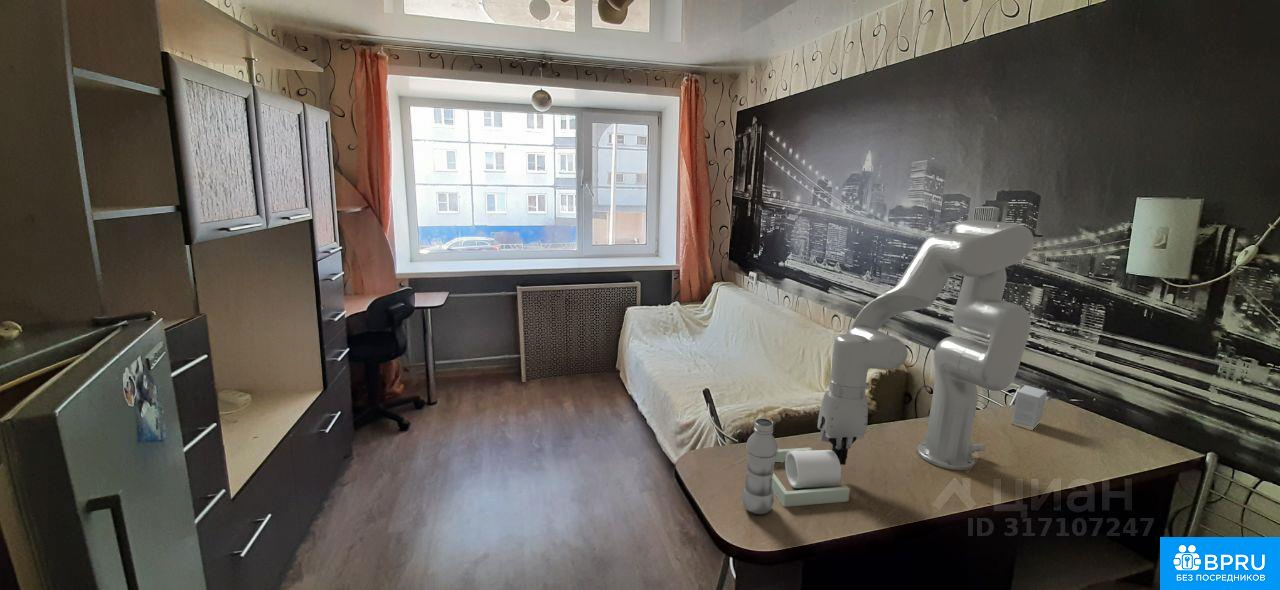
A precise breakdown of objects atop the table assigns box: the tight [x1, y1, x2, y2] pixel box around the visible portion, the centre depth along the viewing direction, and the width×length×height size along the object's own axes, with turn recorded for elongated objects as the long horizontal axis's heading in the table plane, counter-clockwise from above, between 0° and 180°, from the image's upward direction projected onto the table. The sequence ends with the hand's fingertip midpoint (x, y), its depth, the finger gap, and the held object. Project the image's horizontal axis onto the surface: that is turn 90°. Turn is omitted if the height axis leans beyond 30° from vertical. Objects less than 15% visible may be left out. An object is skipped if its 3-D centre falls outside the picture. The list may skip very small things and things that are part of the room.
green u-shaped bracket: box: [773, 447, 851, 508], centre depth 122 cm, size 15×18×3 cm
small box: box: [1011, 384, 1048, 428], centre depth 152 cm, size 8×6×10 cm
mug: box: [784, 449, 842, 489], centre depth 122 cm, size 12×10×8 cm
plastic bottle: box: [742, 417, 779, 515], centre depth 109 cm, size 6×7×20 cm
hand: (838, 461), depth 123 cm, fingers closed
